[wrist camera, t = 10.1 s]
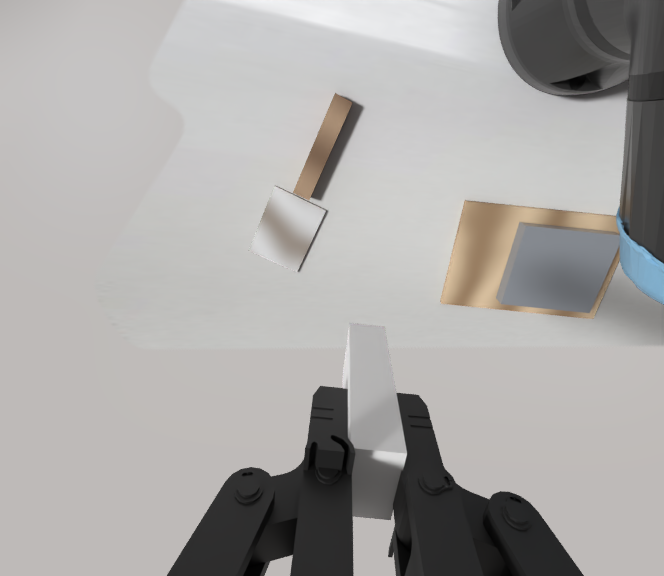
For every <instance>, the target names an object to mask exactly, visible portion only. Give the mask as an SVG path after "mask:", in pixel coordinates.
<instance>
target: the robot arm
mask: <svg viewBox="0 0 664 576" xmlns="http://www.w3.org/2000/svg"><path fill="white" fill-rule="evenodd" d="M498 28H499V35H500V40H501V44H502V47H503V50H504V53H505V55H506V57H507V59H508V61H509V63H510V65H511V66H512V68H513V69H514V70H515V72H516V73H517V74H518V75H519V76H520V77H521V78H522V79H523V80H524V81H525V82H527V83H528V84H529V85H531V86H532V87H534V88H536V89H538V90H541V91H543V92H546V93H550V94H555V95H578V94H587V93H593V92H598V91H601V90H605V89H608V88H610V87H613V86H616V85H618V84H620V83H622V82H624V81H626V80H628V79H629V87H628V99H627V108H626V125H625V142H624V159H623V171H622V184H621V196H620V206H619V208H618V212H617V215H616V224H617V227H618V230H619V232H620V263H621V266H622V269H623V271H624V273H625V274H626V275H627V276H628V277H629V278H630V279H631V280H632V281H633V282H634V284H635V285H636V287H637V288H638V289H639V290H641V291H642V292H643V293H645V294H646V295H648V296H649V297H651V298H652V299H654V300H656V301H657V302H659V303H661V304H663V305H664V0H499V3H498ZM393 510H394V519H395V527H394V531H393V535H392V539H391V543H390V547H389V555H388V557H392V556H393V552H394V560H395V569H396V576H584V575H583V574H582V573H581V571H580V570H579V568H578V567H577V566H576V564H575V563H574V561H573V560H572V559H571V558H570V556H569V554H568V553H567V552H566V550H565V549H564V547H563V546H562V545H561V543H560V542H559V540H558V539H557V538H556V537H555V535H554V533H553V532H552V531H551V529H550V528H549V526H548V525H547V524H546V522H545V521H544V519H543V518H542V517H541V515H540V514H539V512H538V511H537V510H536V509H535V508H534V507H533V506H532V505H531V504H530V503H529V502H528V501H526V500H525V499H524V498H522V497H521V496H519V495H516V494H513V493H510V492H501V491H500V492H498V493H495V494H493V495H492V497H491V498H490V500H489V499H487V498H484V497H482V496H479V495H477V494H474V493H472V492H469V491H467V490H465V489H463V488H462V487H460V486H459V485H457V484H456V483H455V481H454V479H453V477H452V476H451V475H450V474H449V473H448V472H447V471H446V470H445V468H444V466H443V463H442V459H441V456H440V452H439V448H438V445H437V442H436V438H435V434H434V430H433V427H432V423H431V420H430V416H429V412H428V409H427V406H426V404H425V403H424V402H423V400H422V399H421V398H420V397H419V395H413V394H403V393H396V388H395V382H394V377H393V371H392V365H391V360H390V354H389V349H388V343H387V337H386V332H385V327H384V326H374V325H364V324H354V323H350V324H349V331H348V339H347V346H346V354H345V362H344V369H343V388H334V387H325V386H320V387H319V388H318V390H317V391H316V392H315V394H314V395H313V402H312V410H311V417H310V425H309V433H308V441H307V445H306V448H305V457H304V460H303V461H302V463H301V464H300V465H299V466H298V467H297V468H296V469H294V470H292V471H291V472H288V473H285V474H282V475H277V476H272V477H271V476H270V475H269V473H267V472H266V471H264V470H262V469H260V468H252V467H250V468H245V469H241V470H239V471H237V472H235V473H233V474H232V475H231V476H230V477H229V478H228V480H227V481H226V482H225V483H224V485H223V487H222V488H221V490H220V491H219V493H218V494H217V496H216V498H215V499H214V501H213V502H212V504H211V506H210V507H209V509H208V510H207V512H206V514H205V515H204V517H203V519H202V520H201V522H200V523H199V525H198V526H197V528H196V530H195V531H194V533H193V534H192V536H191V538H190V539H189V541H188V542H187V544H186V546H185V547H184V549H183V550H182V552H181V554H180V555H179V557H178V559H177V560H176V562H175V563H174V565H173V567H172V568H171V570H170V571H169V573H168V575H167V576H264V575H265V573H266V570H267V568H268V565H269V563H270V561H272V560H275V559H279V558H283V557H287V556H290V555H293V559H292V567H291V575H290V576H353V520H352V516H355V517H365V518H375V519H385V520H391V516H392V512H393Z"/></svg>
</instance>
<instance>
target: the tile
mask: <svg viewBox="0 0 664 576" xmlns="http://www.w3.org/2000/svg"><path fill="white" fill-rule="evenodd" d="M619 245H620V234H618V233H616V232H613V231H604V230H594V229H584V228H575V227H565V226H555V225H545V224H536V223H526V222H519V225H518V228H517V232H516V235H515V238H514V241H513V244H512V248H511V251H510V254H509V257H508V260H507V264H506V267H505V270H504V273H503V276H502V280H501V283H500V286H499V289H498V292H497V296H496V299H497V300H498V301H499V302H500V304H504V305H514V306H524V307H534V308H543V309H553V310H563V311H573V312H583V313H590V311H591V309H592V307H593V304H594V302H595V300H596V298H597V295H598V293H599V291H600V289H601V286H602V284H603V282H604V279H605V277H606V275H607V273H608V270H609V268H610V266H611V264H612V261H613V259H614V257H615V254H616V252H617V250H618V248H619Z"/></svg>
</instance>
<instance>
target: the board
mask: <svg viewBox="0 0 664 576" xmlns="http://www.w3.org/2000/svg"><path fill="white" fill-rule="evenodd" d="M519 222H526V223H536V224H545V225H555V226H565V227H575V228H584V229H594V230H604V231H613V232H616V233H618V234H620V232H619V230H618V227H617V224H616V216H611V215H602V214H592V213H582V212H573V211H563V210H553V209H544V208H534V207H524V206H515V205H505V204H495V203H485V202H476V201H466V200H465V202H464V206H463V210H462V214H461V218H460V222H459V227H458V231H457V235H456V239H455V243H454V247H453V251H452V255H451V259H450V264H449V268H448V272H447V276H446V280H445V284H444V288H443V292H442V296H441V301H440V302H441V304H451V305H461V306H470V307H480V308H490V309H500V310H510V311H519V312H529V313H539V314H549V315H559V316H568V317H578V318H588V319H593V318H594V316H595V314H596V311H597V309H598V307H599V305H600V302H601V300H602V298H603V296H604V293H605V291H606V289H607V287H608V285H609V282H610V280H611V278H612V276H613V273H614V271H615V269H616V267H617V264H618V262H619V260H620V245H619V248H618V250H617V252H616V254H615V257H614V259H613V261H612V264H611V266H610V268H609V270H608V273H607V275H606V277H605V279H604V282H603V284H602V286H601V289H600V291H599V293H598V295H597V298H596V300H595V302H594V304H593V307H592V309H591V311H590V313H583V312H573V311H563V310H553V309H543V308H534V307H524V306H514V305H504V304H500V302H499V301H498V300H497V299H496V296H497V292H498V289H499V286H500V283H501V280H502V276H503V273H504V270H505V267H506V264H507V260H508V257H509V254H510V251H511V248H512V244H513V241H514V238H515V235H516V232H517V228H518V225H519Z"/></svg>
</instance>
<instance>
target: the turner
mask: <svg viewBox="0 0 664 576" xmlns="http://www.w3.org/2000/svg"><path fill="white" fill-rule="evenodd" d="M351 105H352V102H351V101H349V100H347V99H345V98H343V97H341V96H339V95H338V94H336V93H335V95H334V97H333V99H332V102H331V104H330V107H329V109H328V111H327V114H326V116H325V118H324V121H323V123H322V125H321V128H320V130H319V133H318V135H317V137H316V140H315V142H314V144H313V147H312V149H311V151H310V154H309V156H308V158H307V161H306V163H305V166H304V168H303V170H302V173H301V175H300V177H299V180H298V182H297V184H296V187H295V189H294V192H293V193H295V194H297V195H299V196H301V197H303V198H305V199H307V200H309V199H310V197H311V195H312V193H313V191H314V188H315V186H316V184H317V182H318V179H319V177H320V175H321V173H322V170H323V168H324V166H325V164H326V161H327V159H328V157H329V155H330V152H331V150H332V148H333V146H334V143H335V141H336V139H337V137H338V134H339V132H340V130H341V128H342V125H343V123H344V121H345V119H346V116H347V114H348V112H349V110H350V108H351ZM325 212H326V210H325V209H323V208H321V207H319V206H317V205H314V204H312V203H310V202H308V201H306V200H304V199H302V198H300V197H298V196H296V195H294V194H292V193H290V192H287V191H285V190H283V189H281V188H279V187H277V186H274V188H273V191H272V193H271V196H270V198H269V201H268V203H267V206H266V208H265V211H264V213H263V216H262V219H261V221H260V224H259V226H258V229H257V231H256V234H255V236H254V239H253V241H252V244H251V246H250V249H249V251H250V252H252V253H254V254H257V255H259V256H261V257H263V258H265V259H268V260H270V261H272V262H274V263H277V264H279V265H281V266H283V267H286V268H288V269H290V270H292V271H294V272H297V271H298V269H299V267H300V265H301V263H302V261H303V259H304V257H305V254H306V252H307V250H308V248H309V246H310V244H311V242H312V240H313V237H314V235H315V233H316V231H317V229H318V227H319V225H320V223H321V220H322V218H323V216H324V214H325Z"/></svg>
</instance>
